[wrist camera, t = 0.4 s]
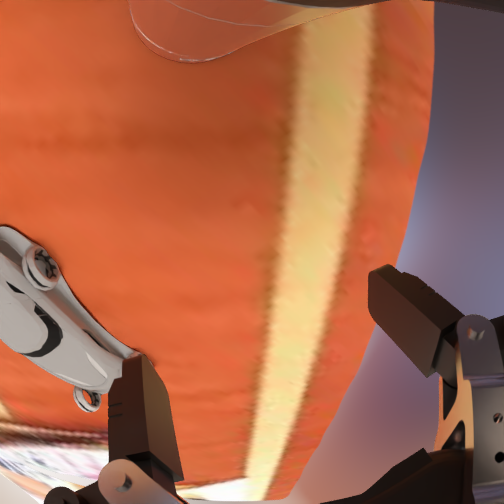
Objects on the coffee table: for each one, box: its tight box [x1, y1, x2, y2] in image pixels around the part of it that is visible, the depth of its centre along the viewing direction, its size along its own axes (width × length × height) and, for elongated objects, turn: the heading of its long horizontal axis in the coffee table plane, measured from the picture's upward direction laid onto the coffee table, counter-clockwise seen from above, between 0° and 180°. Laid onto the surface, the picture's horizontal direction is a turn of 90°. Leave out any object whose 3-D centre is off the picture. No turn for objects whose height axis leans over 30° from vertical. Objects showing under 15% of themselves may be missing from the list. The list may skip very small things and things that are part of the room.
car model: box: [0, 226, 155, 412], centre depth 24 cm, size 11×24×5 cm, turn 26°
